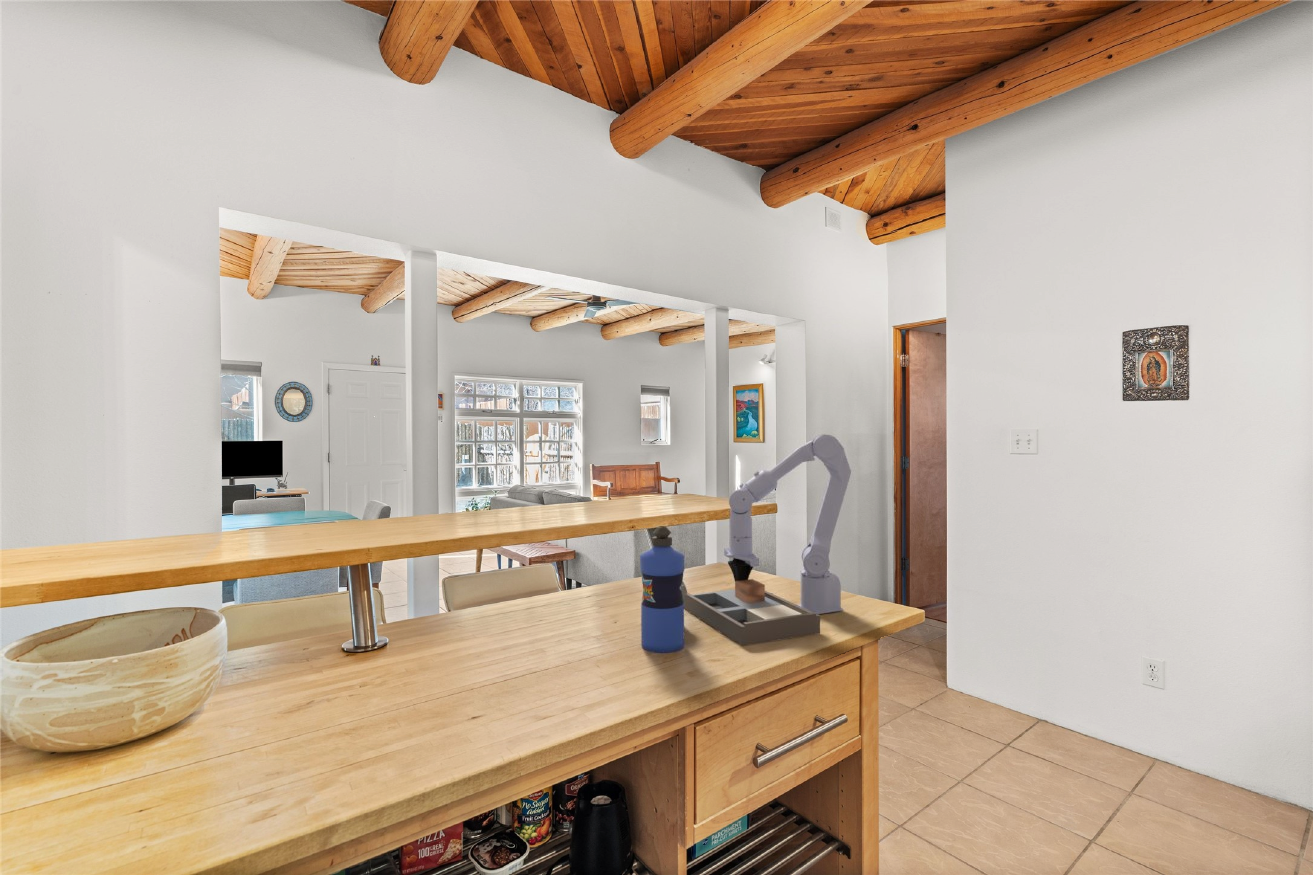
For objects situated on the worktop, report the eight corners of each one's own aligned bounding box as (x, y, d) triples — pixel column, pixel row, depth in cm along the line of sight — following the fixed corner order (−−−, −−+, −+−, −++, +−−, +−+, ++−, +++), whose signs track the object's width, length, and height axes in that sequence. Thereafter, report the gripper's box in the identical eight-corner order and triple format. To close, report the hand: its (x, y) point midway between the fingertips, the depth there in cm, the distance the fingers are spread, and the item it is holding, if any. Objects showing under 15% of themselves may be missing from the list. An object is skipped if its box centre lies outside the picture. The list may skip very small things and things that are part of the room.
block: (752, 594, 155) (752, 579, 155) (764, 600, 149) (764, 584, 149) (735, 596, 153) (735, 580, 153) (747, 602, 148) (746, 586, 148)
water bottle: (650, 655, 122) (649, 531, 121) (634, 640, 130) (633, 525, 130) (692, 649, 125) (691, 528, 125) (674, 635, 134) (673, 522, 133)
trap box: (750, 598, 162) (749, 581, 162) (820, 633, 134) (820, 613, 134) (682, 607, 155) (682, 589, 154) (741, 645, 127) (741, 624, 127)
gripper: (714, 532, 161) (714, 583, 161) (741, 542, 147) (741, 597, 147) (737, 531, 163) (737, 581, 163) (766, 540, 150) (766, 594, 150)
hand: (741, 588), depth 155 cm, fingers closed
